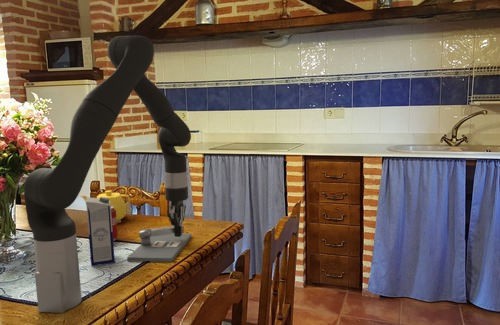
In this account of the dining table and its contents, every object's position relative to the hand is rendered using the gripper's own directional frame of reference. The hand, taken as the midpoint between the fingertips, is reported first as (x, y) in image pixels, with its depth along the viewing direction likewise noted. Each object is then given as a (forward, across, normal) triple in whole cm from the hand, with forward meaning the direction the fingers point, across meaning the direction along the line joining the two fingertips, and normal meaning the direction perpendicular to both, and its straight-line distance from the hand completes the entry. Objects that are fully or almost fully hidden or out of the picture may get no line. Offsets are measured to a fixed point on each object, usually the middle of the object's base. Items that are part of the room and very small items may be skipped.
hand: (178, 235), depth 140 cm
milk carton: (+4, -14, +20) cm, 25 cm away
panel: (+4, -2, +5) cm, 7 cm away
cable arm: (0, +1, +6) cm, 6 cm away
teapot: (+4, +29, +39) cm, 49 cm away
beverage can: (+4, +5, +27) cm, 28 cm away
